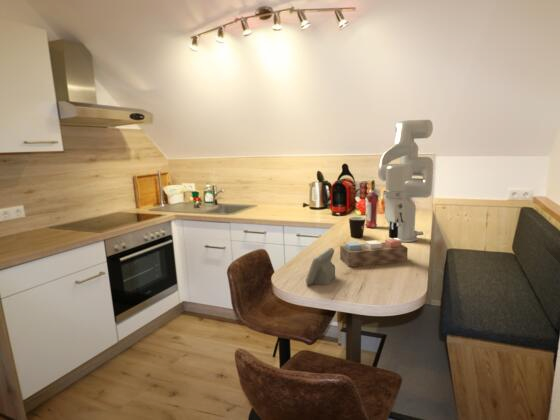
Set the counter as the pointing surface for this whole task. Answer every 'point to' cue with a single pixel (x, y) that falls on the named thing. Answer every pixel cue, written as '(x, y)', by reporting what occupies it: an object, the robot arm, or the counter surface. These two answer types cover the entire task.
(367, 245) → the white key
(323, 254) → the grey rock
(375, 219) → the liquor
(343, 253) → the frame
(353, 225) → the coffee mug
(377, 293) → the counter surface
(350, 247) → the blue key
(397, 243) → the pink block
